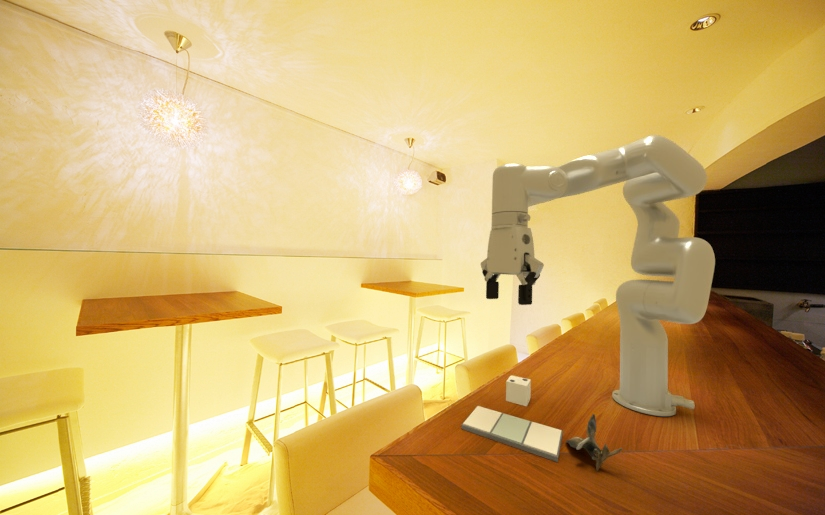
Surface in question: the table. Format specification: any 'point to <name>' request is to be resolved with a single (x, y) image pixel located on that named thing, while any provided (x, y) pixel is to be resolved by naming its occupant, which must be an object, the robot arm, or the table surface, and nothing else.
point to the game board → (515, 432)
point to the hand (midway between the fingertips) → (507, 301)
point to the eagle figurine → (592, 444)
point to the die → (518, 390)
